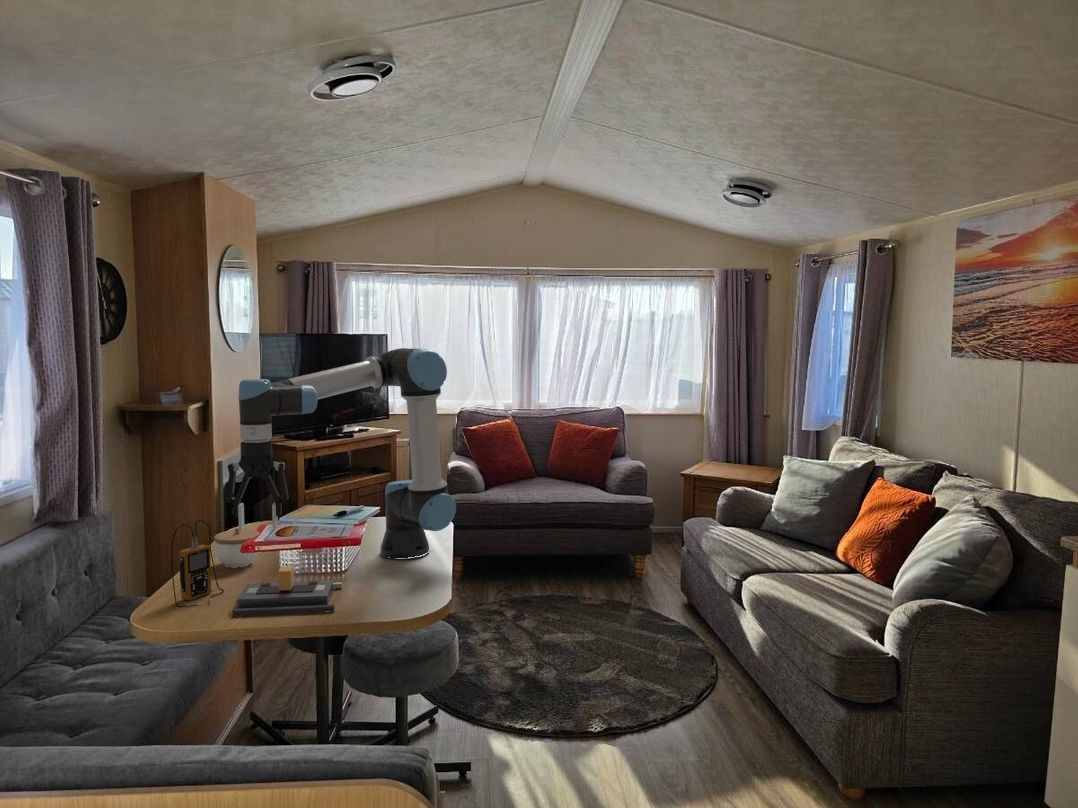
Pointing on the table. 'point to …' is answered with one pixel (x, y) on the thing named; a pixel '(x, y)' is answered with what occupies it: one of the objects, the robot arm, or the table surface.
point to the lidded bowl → (234, 547)
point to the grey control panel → (285, 595)
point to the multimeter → (195, 570)
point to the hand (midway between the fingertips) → (258, 528)
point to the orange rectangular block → (286, 578)
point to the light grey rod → (337, 585)
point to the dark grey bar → (282, 610)
